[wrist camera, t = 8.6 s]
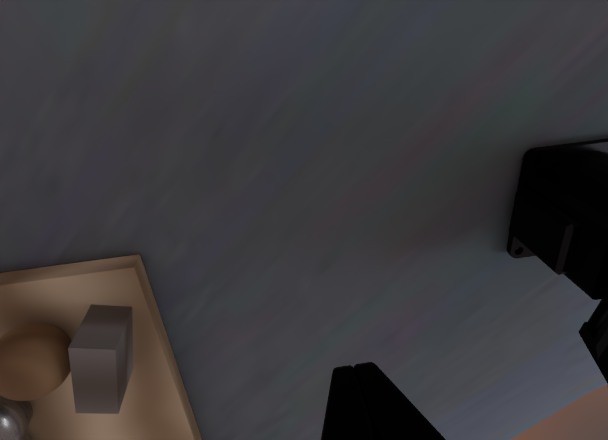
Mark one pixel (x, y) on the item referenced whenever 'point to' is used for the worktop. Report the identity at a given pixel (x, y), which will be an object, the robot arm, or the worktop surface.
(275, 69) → the worktop surface
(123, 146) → the worktop surface
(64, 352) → the walnut
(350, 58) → the worktop surface
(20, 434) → the lever
